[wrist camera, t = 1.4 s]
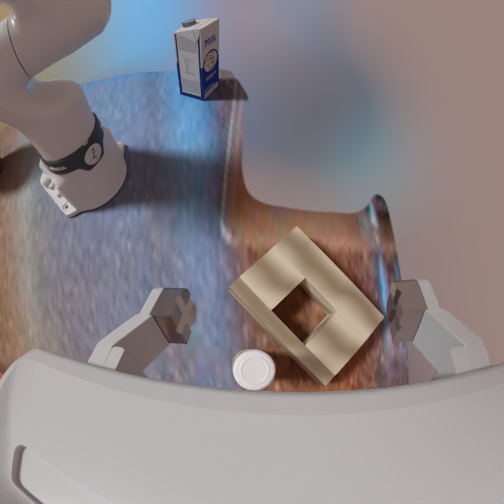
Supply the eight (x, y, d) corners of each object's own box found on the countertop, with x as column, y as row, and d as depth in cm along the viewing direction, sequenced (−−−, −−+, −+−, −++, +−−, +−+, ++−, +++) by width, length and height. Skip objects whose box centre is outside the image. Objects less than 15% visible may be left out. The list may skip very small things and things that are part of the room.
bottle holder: (316, 382, 40) (325, 385, 36) (228, 292, 44) (228, 286, 39) (371, 320, 44) (384, 317, 40) (290, 237, 48) (296, 226, 43)
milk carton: (203, 101, 57) (200, 28, 38) (179, 94, 58) (171, 25, 39) (219, 85, 60) (219, 17, 41) (196, 79, 60) (192, 13, 41)
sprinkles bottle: (232, 347, 41) (233, 348, 28) (262, 348, 41) (277, 350, 29) (231, 376, 39) (232, 390, 27) (261, 377, 40) (275, 391, 27)
